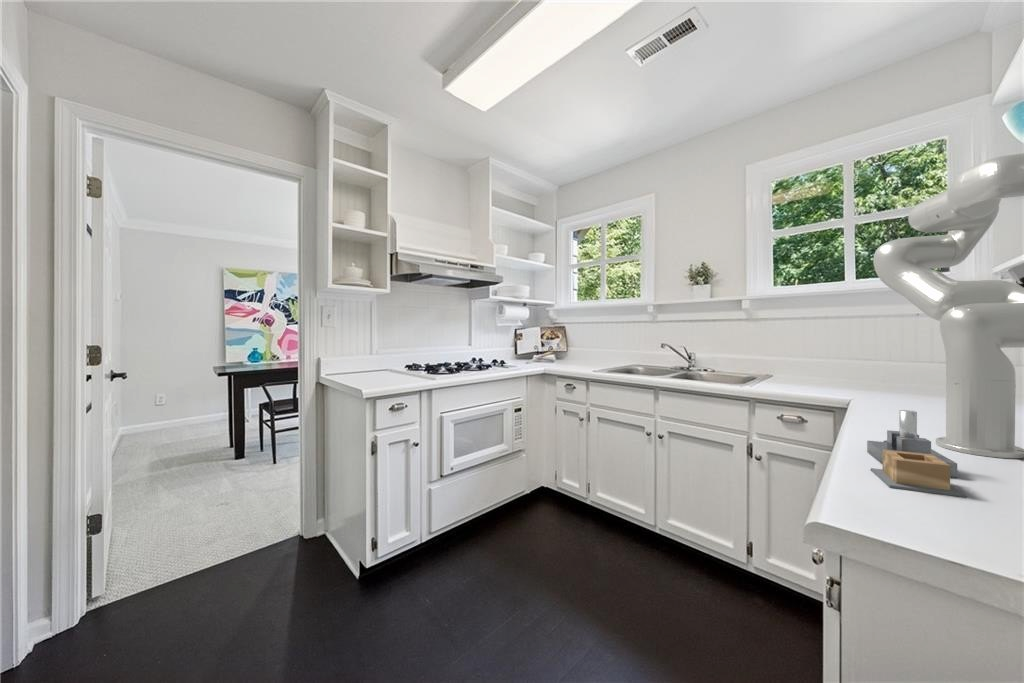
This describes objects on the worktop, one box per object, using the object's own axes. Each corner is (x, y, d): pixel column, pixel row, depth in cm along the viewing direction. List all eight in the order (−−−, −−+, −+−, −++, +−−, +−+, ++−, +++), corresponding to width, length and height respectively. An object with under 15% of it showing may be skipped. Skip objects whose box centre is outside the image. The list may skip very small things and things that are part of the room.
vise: (859, 445, 88) (859, 400, 87) (914, 450, 83) (914, 403, 83) (889, 470, 73) (889, 415, 72) (957, 477, 68) (957, 419, 68)
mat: (870, 470, 73) (870, 468, 73) (937, 477, 68) (937, 475, 68) (889, 487, 65) (889, 485, 65) (966, 497, 61) (966, 494, 61)
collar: (882, 471, 71) (882, 449, 71) (931, 476, 68) (931, 454, 68) (896, 483, 65) (896, 459, 65) (950, 490, 62) (950, 465, 62)
